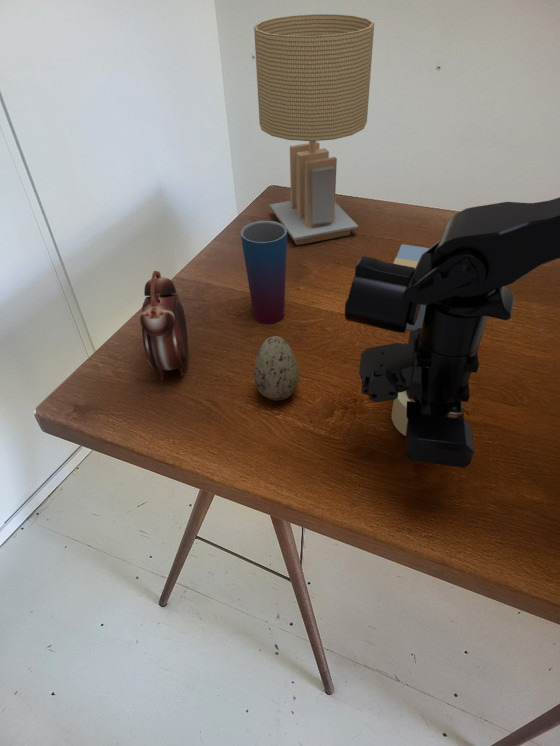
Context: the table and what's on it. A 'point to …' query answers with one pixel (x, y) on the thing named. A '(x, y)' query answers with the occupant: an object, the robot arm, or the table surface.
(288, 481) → the table surface
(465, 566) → the table surface
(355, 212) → the table surface
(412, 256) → the carton
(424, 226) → the table surface
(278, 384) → the decorative egg
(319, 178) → the desk lamp
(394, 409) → the tape
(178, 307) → the alarm clock
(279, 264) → the cup
